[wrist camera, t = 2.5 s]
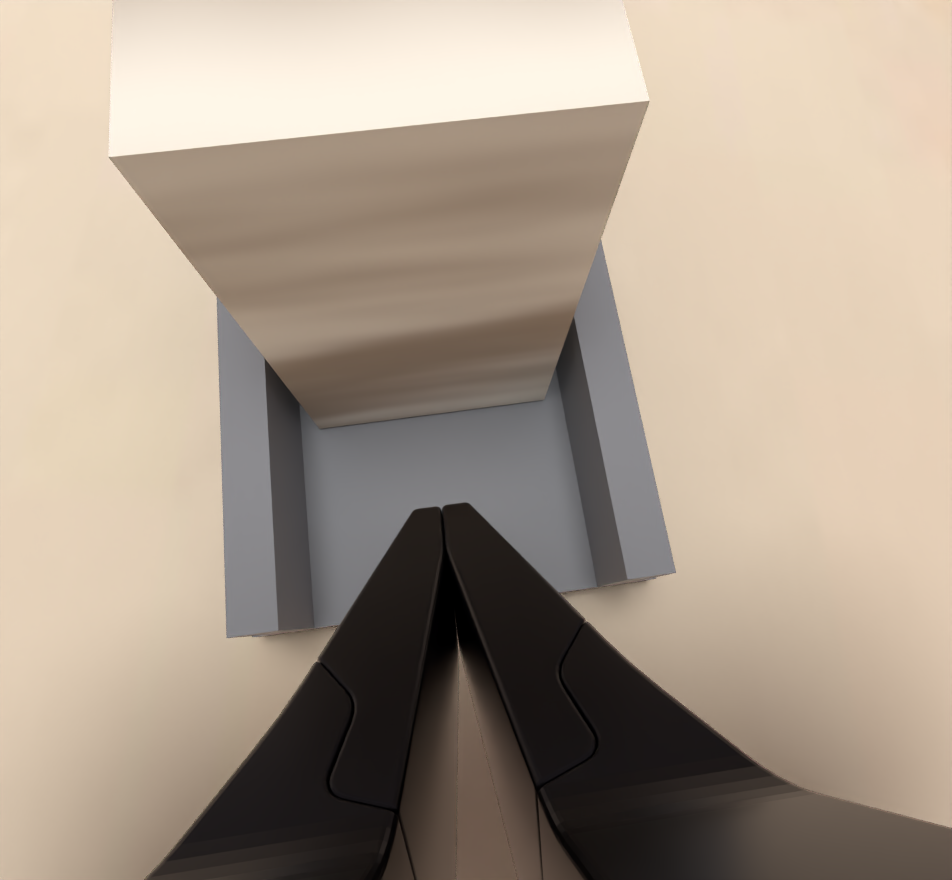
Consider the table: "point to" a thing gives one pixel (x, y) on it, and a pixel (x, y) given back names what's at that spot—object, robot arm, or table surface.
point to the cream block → (383, 181)
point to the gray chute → (434, 479)
